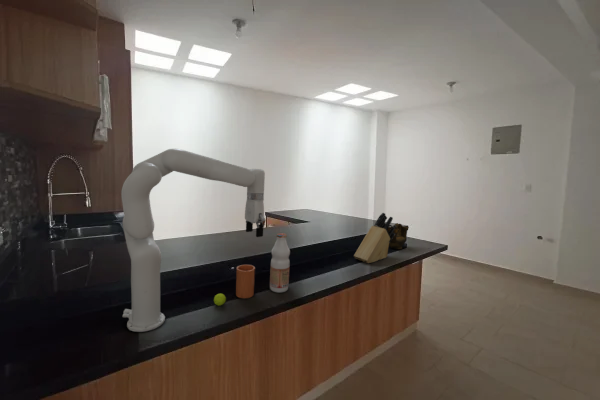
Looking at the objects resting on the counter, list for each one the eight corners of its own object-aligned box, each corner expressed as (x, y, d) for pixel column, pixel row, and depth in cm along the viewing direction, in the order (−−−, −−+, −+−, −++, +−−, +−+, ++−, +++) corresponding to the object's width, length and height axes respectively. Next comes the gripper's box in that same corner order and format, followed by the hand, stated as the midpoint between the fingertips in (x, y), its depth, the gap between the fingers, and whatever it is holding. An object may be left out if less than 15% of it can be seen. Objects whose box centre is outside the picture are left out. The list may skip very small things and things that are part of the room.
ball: (211, 307, 124) (212, 296, 124) (216, 301, 129) (216, 291, 129) (223, 308, 124) (223, 297, 123) (227, 302, 129) (227, 292, 128)
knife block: (394, 255, 212) (399, 213, 208) (367, 265, 188) (371, 218, 184) (380, 251, 220) (384, 211, 216) (352, 260, 196) (356, 215, 192)
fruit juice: (268, 292, 141) (271, 236, 138) (270, 284, 151) (273, 231, 147) (287, 293, 141) (290, 237, 138) (288, 285, 151) (291, 232, 147)
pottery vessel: (393, 251, 221) (396, 226, 218) (380, 248, 228) (383, 223, 226) (409, 246, 237) (412, 223, 235) (397, 243, 245) (399, 220, 243)
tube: (233, 297, 134) (234, 270, 132) (238, 289, 142) (239, 264, 141) (251, 299, 134) (252, 271, 132) (255, 291, 142) (256, 265, 140)
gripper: (239, 194, 134) (238, 230, 137) (257, 199, 121) (255, 239, 123) (253, 194, 139) (252, 229, 141) (272, 199, 125) (271, 237, 128)
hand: (254, 234), depth 132 cm, fingers open, 9 cm apart
